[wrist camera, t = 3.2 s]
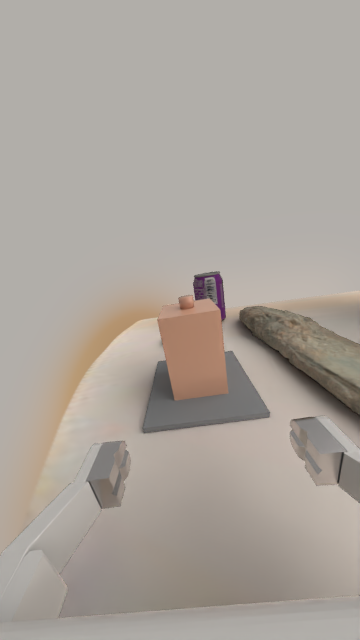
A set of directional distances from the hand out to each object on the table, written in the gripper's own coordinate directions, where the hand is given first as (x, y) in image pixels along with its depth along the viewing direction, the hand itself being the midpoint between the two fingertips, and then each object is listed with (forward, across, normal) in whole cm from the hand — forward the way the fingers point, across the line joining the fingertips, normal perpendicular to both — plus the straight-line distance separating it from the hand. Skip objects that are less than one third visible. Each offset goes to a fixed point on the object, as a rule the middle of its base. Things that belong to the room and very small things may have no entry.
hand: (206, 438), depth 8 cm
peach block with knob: (+12, 0, +6) cm, 14 cm away
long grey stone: (+17, -16, +7) cm, 25 cm away
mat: (+12, 0, +6) cm, 14 cm away
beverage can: (+36, -6, +6) cm, 37 cm away
